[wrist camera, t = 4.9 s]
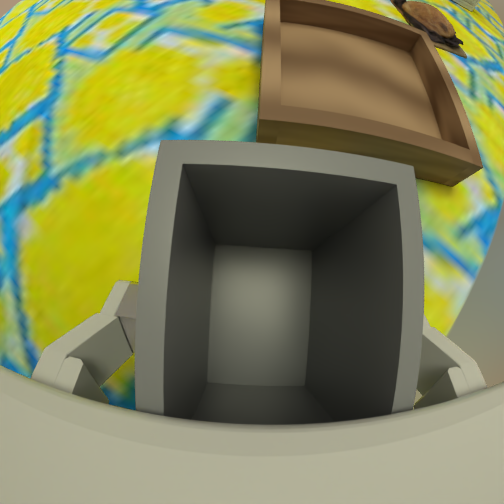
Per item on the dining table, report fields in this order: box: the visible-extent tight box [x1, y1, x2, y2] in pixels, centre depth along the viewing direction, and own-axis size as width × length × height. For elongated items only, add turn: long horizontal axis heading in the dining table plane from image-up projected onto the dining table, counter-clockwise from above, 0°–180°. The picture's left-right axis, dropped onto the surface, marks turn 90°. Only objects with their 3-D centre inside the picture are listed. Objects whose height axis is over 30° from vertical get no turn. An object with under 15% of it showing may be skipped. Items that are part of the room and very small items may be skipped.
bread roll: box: [390, 0, 467, 58], centre depth 19 cm, size 11×8×4 cm
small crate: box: [135, 140, 424, 425], centre depth 10 cm, size 8×6×9 cm
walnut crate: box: [256, 0, 483, 187], centre depth 15 cm, size 14×14×4 cm
